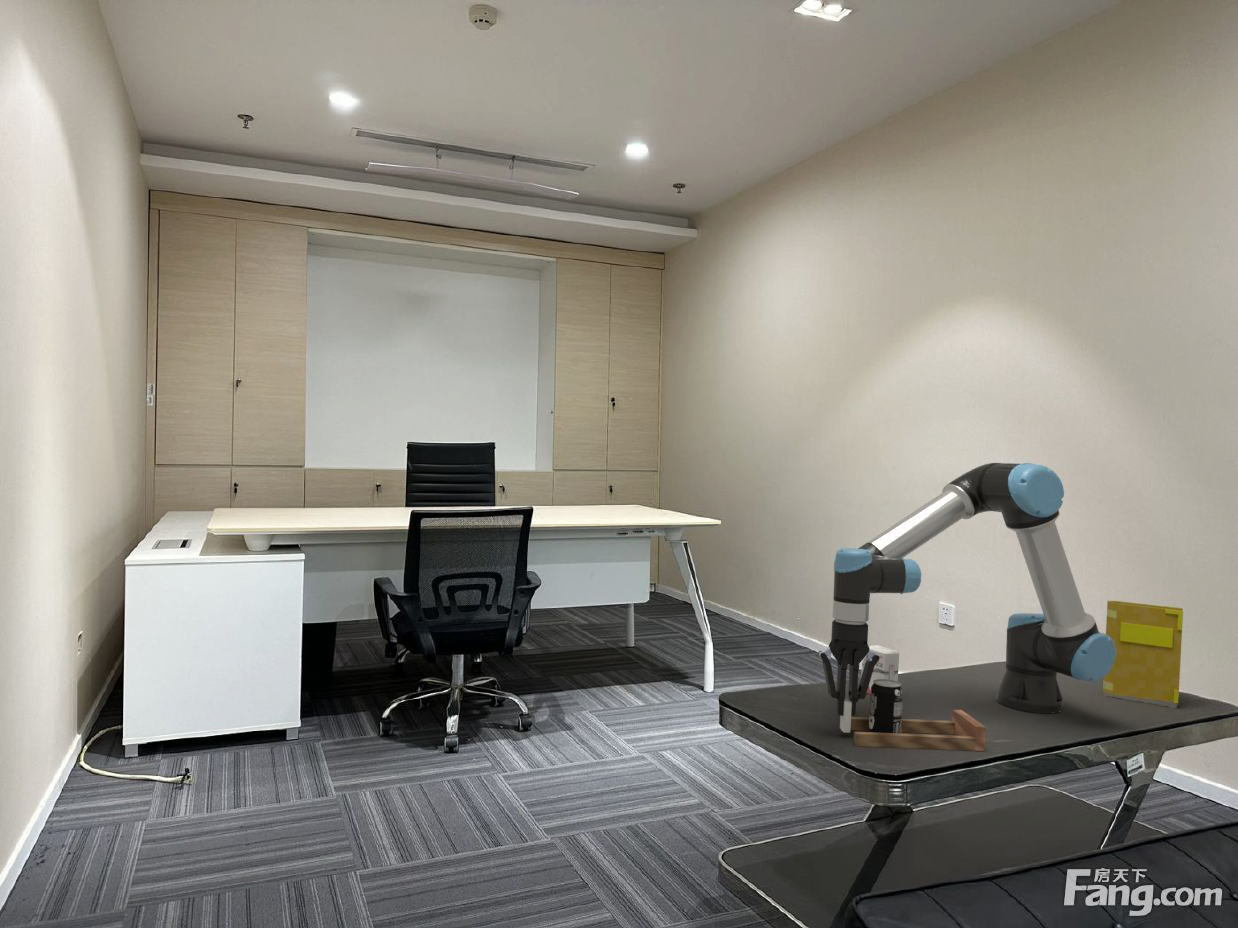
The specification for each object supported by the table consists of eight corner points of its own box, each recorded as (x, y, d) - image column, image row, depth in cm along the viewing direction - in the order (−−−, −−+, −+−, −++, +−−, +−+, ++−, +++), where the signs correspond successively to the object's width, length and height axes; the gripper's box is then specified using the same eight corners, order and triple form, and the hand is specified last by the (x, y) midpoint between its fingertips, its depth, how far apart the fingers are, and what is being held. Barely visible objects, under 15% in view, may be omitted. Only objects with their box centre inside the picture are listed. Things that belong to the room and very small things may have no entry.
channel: (960, 732, 190) (961, 709, 190) (984, 750, 178) (985, 727, 178) (839, 727, 190) (840, 704, 190) (855, 745, 178) (856, 721, 178)
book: (1177, 703, 224) (1182, 608, 224) (1178, 708, 219) (1183, 611, 218) (1103, 691, 233) (1108, 599, 233) (1102, 696, 228) (1106, 602, 228)
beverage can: (864, 732, 187) (866, 677, 187) (893, 733, 187) (895, 678, 187) (875, 742, 180) (878, 686, 180) (905, 743, 181) (908, 686, 181)
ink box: (859, 690, 222) (861, 645, 222) (873, 689, 224) (875, 644, 224) (883, 700, 214) (885, 652, 214) (897, 698, 216) (900, 651, 216)
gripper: (874, 618, 187) (869, 726, 188) (815, 616, 187) (810, 723, 187) (886, 625, 180) (880, 737, 180) (824, 623, 180) (819, 734, 180)
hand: (845, 730), depth 184 cm, fingers closed
